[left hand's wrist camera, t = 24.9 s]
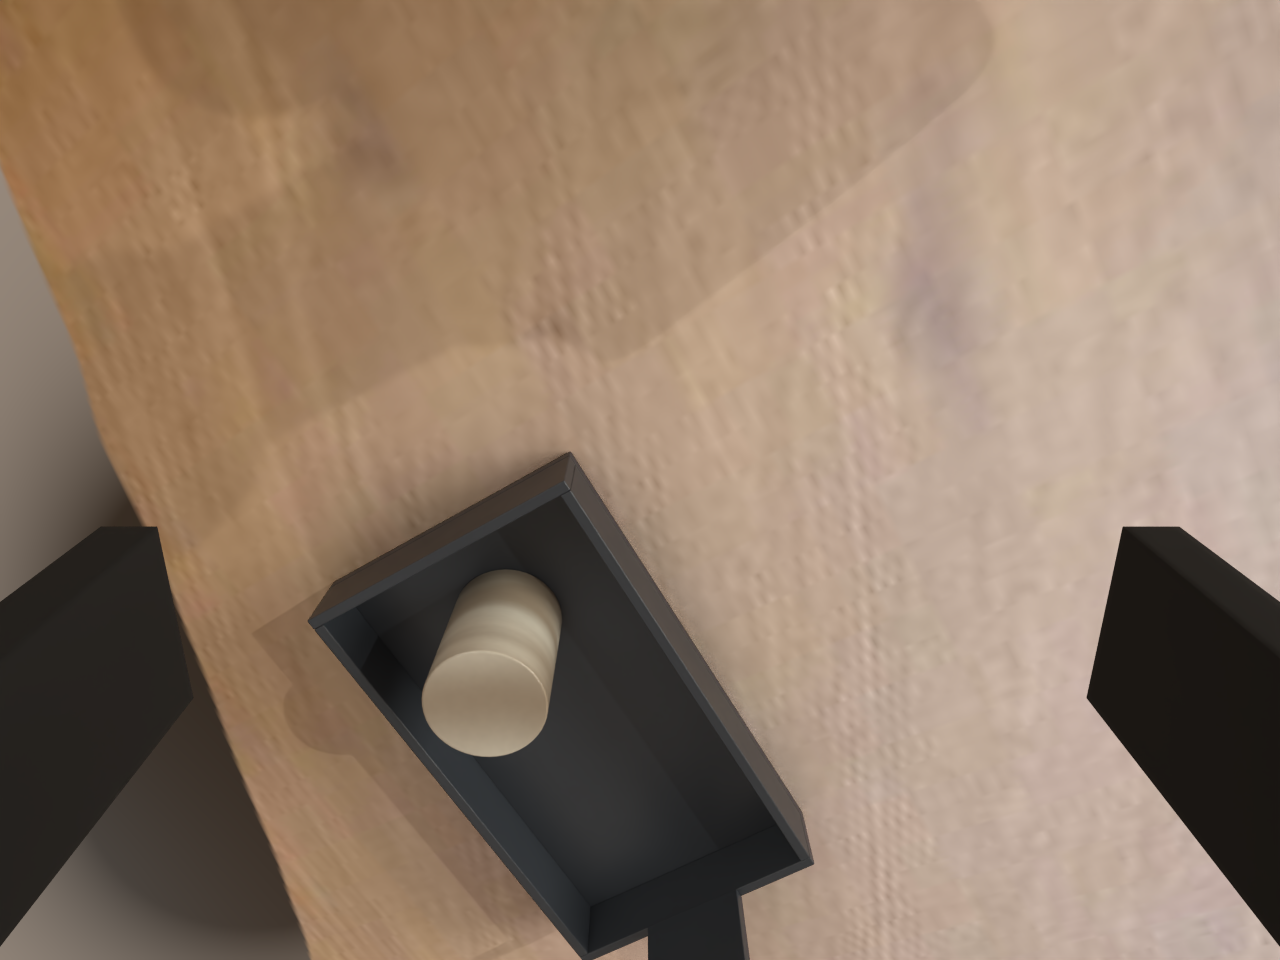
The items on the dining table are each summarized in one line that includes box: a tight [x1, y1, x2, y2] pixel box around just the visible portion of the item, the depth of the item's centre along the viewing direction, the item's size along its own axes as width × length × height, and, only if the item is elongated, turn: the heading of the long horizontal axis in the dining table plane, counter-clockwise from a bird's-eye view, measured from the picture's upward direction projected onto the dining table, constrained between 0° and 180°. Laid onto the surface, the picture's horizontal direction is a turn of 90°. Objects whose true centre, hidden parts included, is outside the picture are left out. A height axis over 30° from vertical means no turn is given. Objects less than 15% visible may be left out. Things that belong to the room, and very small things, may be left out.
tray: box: [308, 452, 814, 960], centre depth 41 cm, size 23×13×9 cm, turn 30°
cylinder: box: [422, 569, 562, 757], centre depth 39 cm, size 5×5×7 cm
